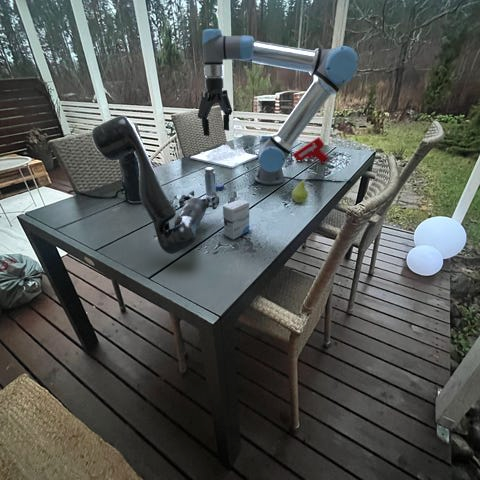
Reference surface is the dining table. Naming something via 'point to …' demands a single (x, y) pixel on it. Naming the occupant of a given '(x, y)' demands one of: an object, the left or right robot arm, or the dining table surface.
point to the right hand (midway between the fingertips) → (216, 132)
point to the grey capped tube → (210, 181)
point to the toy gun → (311, 151)
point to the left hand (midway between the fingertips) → (203, 193)
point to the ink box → (236, 218)
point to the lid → (219, 186)
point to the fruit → (300, 192)
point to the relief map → (225, 156)
